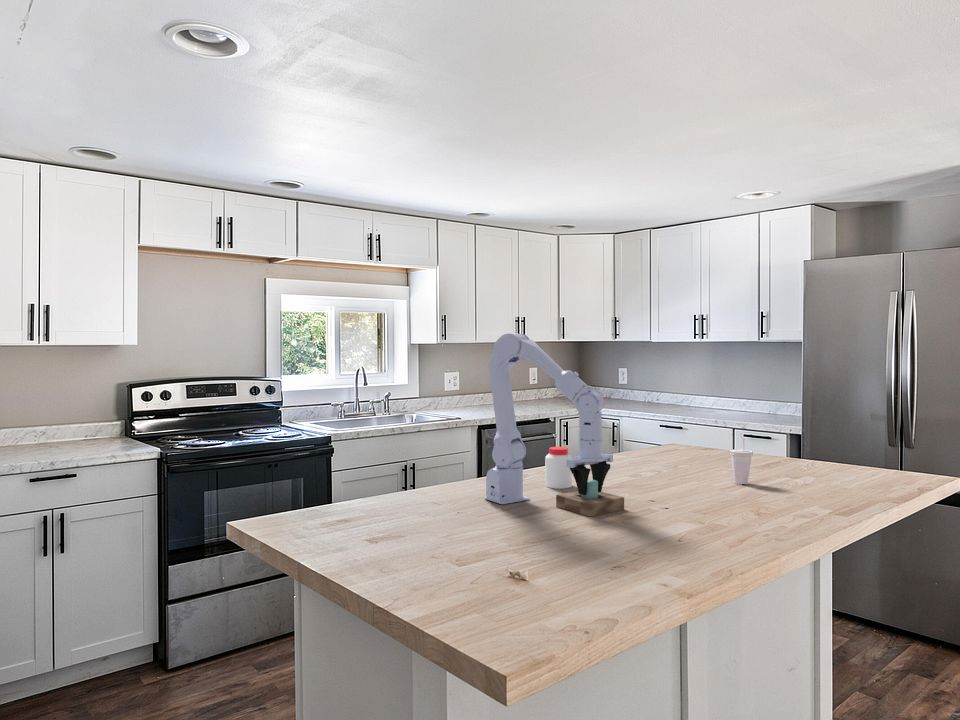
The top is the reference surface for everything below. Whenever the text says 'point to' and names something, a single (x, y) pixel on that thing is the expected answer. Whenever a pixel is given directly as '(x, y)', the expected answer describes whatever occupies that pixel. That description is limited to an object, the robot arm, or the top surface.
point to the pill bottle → (557, 468)
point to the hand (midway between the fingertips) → (589, 492)
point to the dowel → (591, 490)
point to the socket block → (590, 503)
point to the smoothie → (741, 464)
